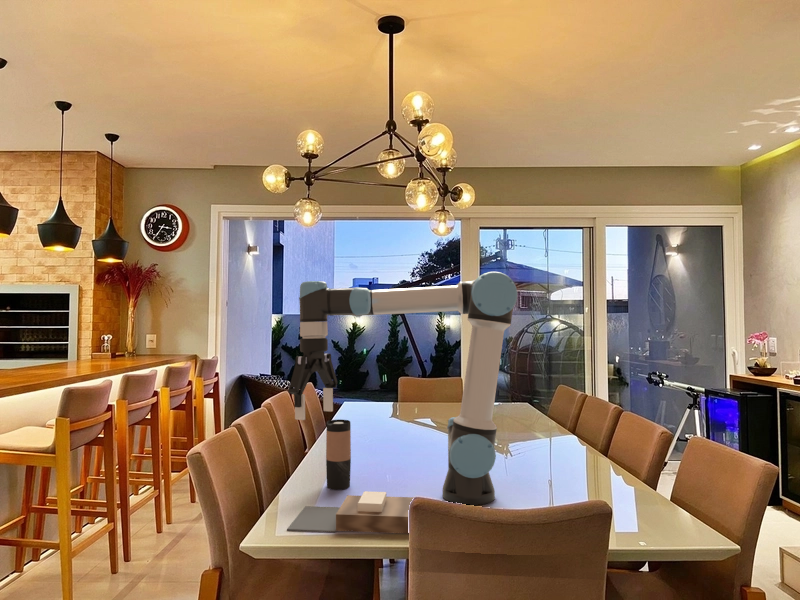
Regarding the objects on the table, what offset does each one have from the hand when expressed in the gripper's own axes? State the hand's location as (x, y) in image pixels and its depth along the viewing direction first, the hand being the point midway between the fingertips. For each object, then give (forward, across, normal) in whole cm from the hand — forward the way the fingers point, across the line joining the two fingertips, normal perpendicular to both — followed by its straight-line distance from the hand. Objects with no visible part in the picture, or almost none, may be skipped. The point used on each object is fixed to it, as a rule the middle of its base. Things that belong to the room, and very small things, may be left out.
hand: (314, 415), depth 142 cm
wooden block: (+26, 0, +20) cm, 32 cm away
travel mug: (+26, -20, -5) cm, 33 cm away
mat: (+26, +5, +4) cm, 27 cm away
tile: (+22, 0, +18) cm, 28 cm away
